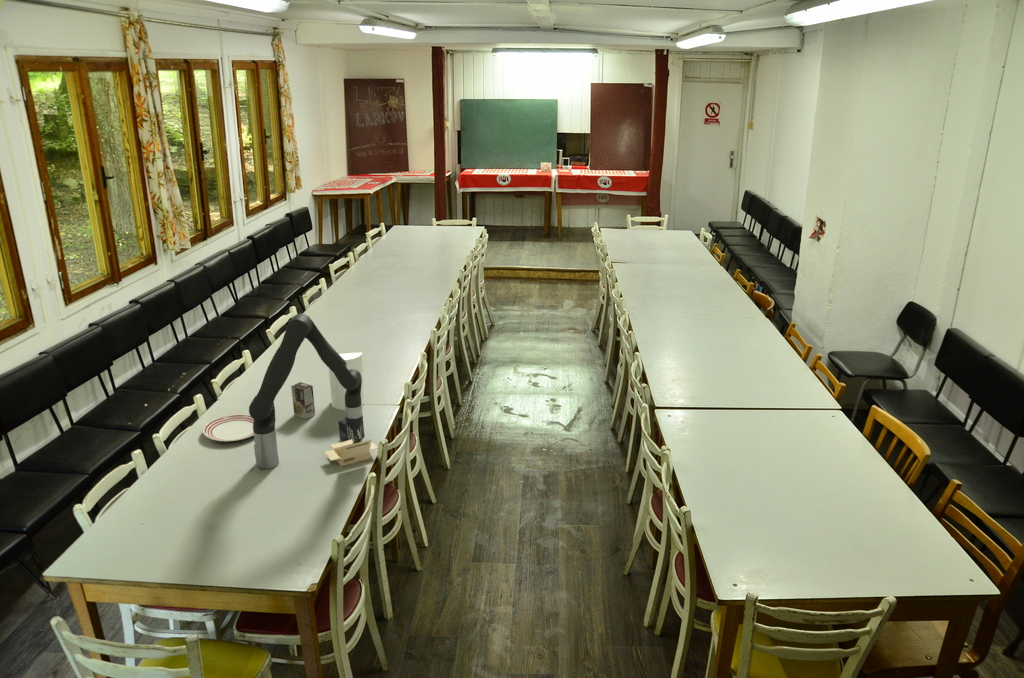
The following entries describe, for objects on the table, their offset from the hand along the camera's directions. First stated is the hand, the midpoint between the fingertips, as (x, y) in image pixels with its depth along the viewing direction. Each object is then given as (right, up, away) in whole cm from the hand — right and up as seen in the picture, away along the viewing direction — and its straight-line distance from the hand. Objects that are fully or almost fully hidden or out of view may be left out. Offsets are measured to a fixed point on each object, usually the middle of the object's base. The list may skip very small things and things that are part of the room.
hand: (356, 448), depth 339 cm
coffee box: (-36, +10, +47) cm, 60 cm away
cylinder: (-16, +15, +61) cm, 65 cm away
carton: (-5, -5, +9) cm, 12 cm away
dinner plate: (-65, +3, +29) cm, 71 cm away
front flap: (-1, -3, +2) cm, 4 cm away
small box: (-7, +1, +25) cm, 26 cm away
